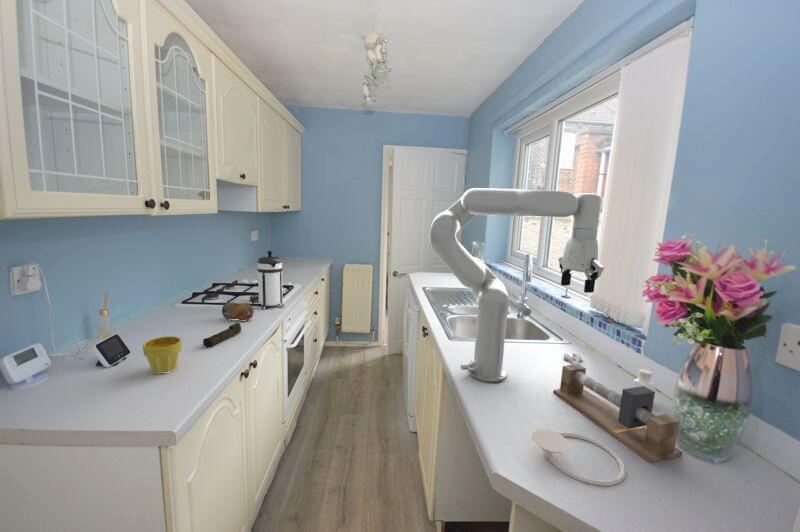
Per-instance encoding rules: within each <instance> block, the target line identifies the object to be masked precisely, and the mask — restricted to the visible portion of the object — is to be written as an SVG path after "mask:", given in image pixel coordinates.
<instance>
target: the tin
mask: <svg viewBox="0 0 800 532" xmlns="http://www.w3.org/2000/svg"><path fill="white" fill-rule="evenodd" d="M221 313H222V316H223V317H224V318H225V319H226V320H227V319H239V320H246V321H245V322H248V321H249V320H251V319H252V318H253V317H254V314H255V311H254V307H253V305H251V304H250V303H246V302H226V303H225V304H224V305H223V306H222V307H221Z"/></svg>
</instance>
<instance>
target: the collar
mask: <svg viewBox="0 0 800 532" xmlns="http://www.w3.org/2000/svg"><path fill="white" fill-rule="evenodd" d="M621 393H622V394H621V396H622V398H621V405H620V408H619V410H618V411H619V418H618V422H619V423H620V424H622V425H623V426H625V427H626V428H628V429H630V428H635V427H641V426H642V427H645V426H646V427H647V424H645V423H643V422H642V421H640V420H639V419H637V418H635V412H636V408H637V407H642V408H644V409H645V410H647V411H649V412H650V413H652V414H653V407H654V400H655V394H656V391H654V390H653V391H652V390H650V389H648V388H646V387H644V386H641V387H635V388H633V387H630V388H629V387H627V388H622V391H621Z"/></svg>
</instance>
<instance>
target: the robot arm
mask: <svg viewBox="0 0 800 532" xmlns="http://www.w3.org/2000/svg"><path fill="white" fill-rule="evenodd" d="M602 200H603V199H602V196H601V195H600V194H599V193H590V192H589V193H586V192H585V193H577V194H574V193H573V192H571V191H567V190H537V189H536V190H533V189H532V190H531V189H522V188H491V187H490V188H487V187H485V188H484V187H483V188H482V187H473V188H469V189H467V190H466V191H465V192H464V193H463V195H462V196H461V197H460V198H458V200H456V202H454V203H453V204H452V205H451V206H449V207H448V208H446V209H445V211H442V212H439V214H437V215H436V216H435V217H434V219H433V220H432V223H431V225H430V230H429V243H430V246H431V248H432V250H433V252H434V254H436V257H438V258H439V259H440V260H441V262H442V263H443V264H444V265H445V266H446V267H447V269H448V270H449V271H450V272H451V274H453V275H454V276H455V277H456V279H457V280H458V281H459V283H460V284H461V285H463V286H464V287H465V288H469V289H471V290H472V291H473V292H474V293H475V295H476V296H478V301H477V303H478V304H477V315H476V328H475V329H476V330H475V343H474V344H475V345H474V354H473V355H474V356H473V359H470V362H468V363H461V364H460V366H459V367H460V370H461V371H465V370H467V373H468V374H469V375H470V376H471V377H472V378H474V379H476V380H478V381H482V382H486V383H500V382H503V381H504V380H505V379H507V372H506V370H504V369H503V365H504V364H503V361H504V351H505V350H504V349H505V340H506V330H507V319H508V313H509V305H510V297H509V293H508V291H507V289H506V286H505V284H504V283H503V282H502V281H501V280H500V279H499V278H498V277H497V276H496V275H495V273H494V272H493V271H491V269H490V268H489V267H488V266H487V265H486V264H485V263H484V262H483V261H482V260H481V259H479V258H478V257H475V256H473V255H471V253H470V252H469V251H468V250H467V249H466V248H465V247H464V246H463V244H462V243H460V241H458V238H457V233H458V232H459V231H460V230H461V229H462V228H464V227H465V226H466V225H467V224H469V223H470V222H471V221H472V220H474V219H475V218H476V217H478V216H500V217H516V218H517V217H528V216H529V217H547V218H549V217H551V218H552V217H553V218H556V217H557V218H567V217H571V221H570V229H569V231H568V232H569V237H567V239H566V241H565V245H564V248H563V253H562V256H561V257H559V258H558V263H559V269H560V273H561V278H560V279H561V280H560V285H561V286H571V280H572V271H574V272H578V273H584V274H585V277H586V279H585V280H584V288H583V292H584V293H586V294H587V293H588V294H589V293H594V291H595V286H596V285H595V284H596V281H597V280H598V278H599V277H600V276H601V275H602V273H603V271H604V270H605V267H604V265H602V264H601V263H600V262H599V261H598V259H599V242H598V239H597V238H598V232H599V223H600V217H601V216H600V215H601V209H602V208H601V207H602Z"/></svg>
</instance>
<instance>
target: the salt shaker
mask: <svg viewBox="0 0 800 532" xmlns="http://www.w3.org/2000/svg"><path fill="white" fill-rule="evenodd" d="M652 374H653V372H652V371H650V370H648V369H645V368H639V369H638V374H637V375H638V377H637V378H635V379H634V380H633V384H632V388H635V387H641V386H644V387H646V388H648V389H650V390H652V391H654V383H653V382H652V381H651V379H652Z"/></svg>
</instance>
